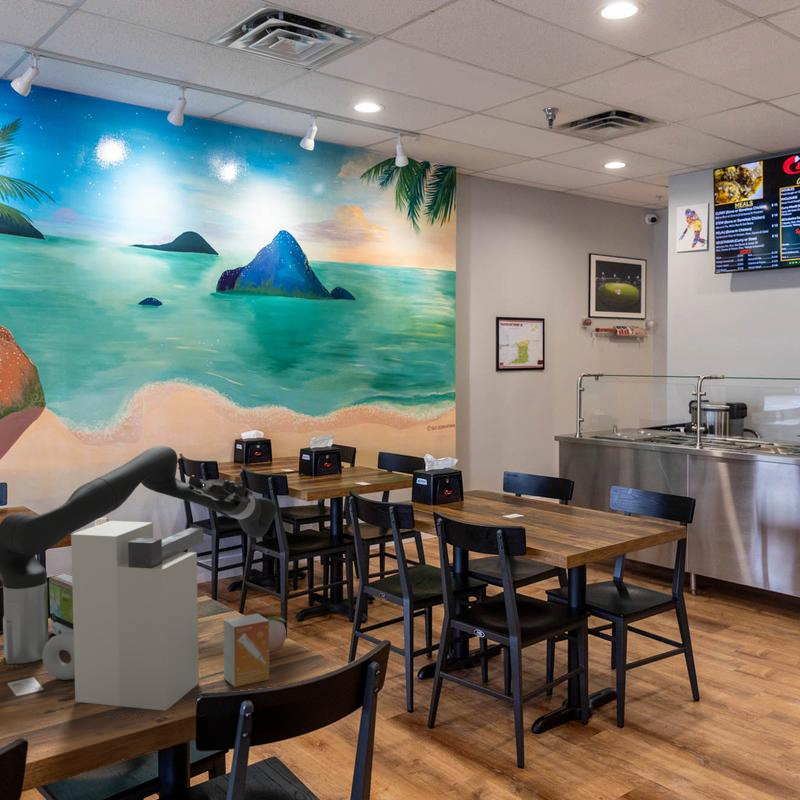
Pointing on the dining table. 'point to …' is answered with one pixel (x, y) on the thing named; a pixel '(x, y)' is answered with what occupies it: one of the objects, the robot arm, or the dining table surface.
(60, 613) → the tea box
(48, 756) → the dining table surface
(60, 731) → the dining table surface
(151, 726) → the dining table surface
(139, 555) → the metal bar
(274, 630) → the decorative fruit
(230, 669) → the small box
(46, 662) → the donut
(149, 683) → the two tier stand
